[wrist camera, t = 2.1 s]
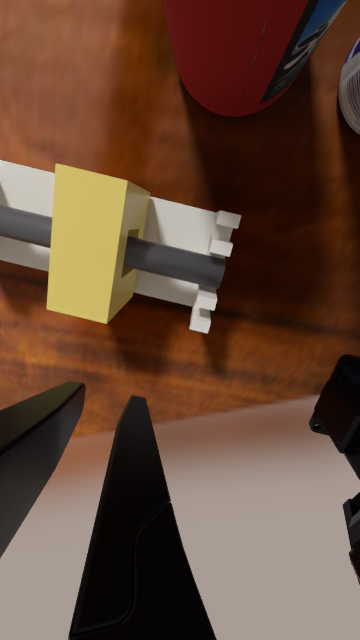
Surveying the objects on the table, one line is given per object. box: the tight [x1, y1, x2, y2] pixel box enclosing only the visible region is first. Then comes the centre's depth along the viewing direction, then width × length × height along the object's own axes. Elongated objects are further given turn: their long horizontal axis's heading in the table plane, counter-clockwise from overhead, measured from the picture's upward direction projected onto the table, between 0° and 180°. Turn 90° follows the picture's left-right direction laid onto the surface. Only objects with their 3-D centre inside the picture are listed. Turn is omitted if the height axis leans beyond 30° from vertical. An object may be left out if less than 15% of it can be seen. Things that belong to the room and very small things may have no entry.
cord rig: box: [0, 160, 241, 334], centre depth 16 cm, size 16×6×5 cm, turn 77°
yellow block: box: [47, 163, 151, 324], centre depth 15 cm, size 3×6×5 cm, turn 167°
